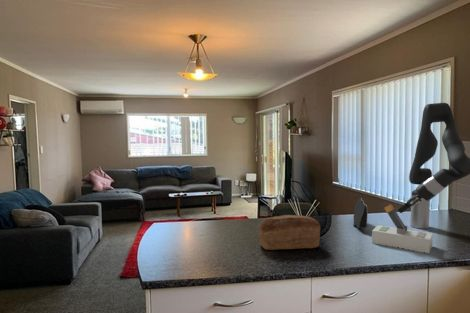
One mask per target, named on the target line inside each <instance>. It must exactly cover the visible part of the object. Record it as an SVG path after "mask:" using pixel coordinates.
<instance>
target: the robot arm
mask: <svg viewBox="0 0 470 313" xmlns="http://www.w3.org/2000/svg"><path fill="white" fill-rule="evenodd" d="M442 122H443V123H444V124H445V129H444V131H443V134H442V137H441V142H442V145H443V147H444V148H445V151H446V155H447V160H448V163H449V164H450V166H451V168H448V169H447V168H442V169H440V170H439V171H437V172H436V173H434V174H433V172H432V170H431V169H430V168H428V167H426V168H425V167H423V168H422V166H424V165H425V164H426V163H427V162H428V161H430V160H431V159H432V158H433V157H434V156H435V155H436V152H437V148H438V145H439V142H438V138H436V135H435V134H434V133H433V131H432V127H431V126H432V124H433V123H442ZM415 148H416V149H415V153H414V157H413V158H414V159H413V162H412V165H411V167H410V171H409V174H408V180H409V182H410V184H413V185H418V186H417V187H415V189H414V190H412V191H411V196H410V198H409V199H408V200H407V201H406V202H405V203H403V205H402V206H400V207H399V208H398V209H397V211H398V213H400V214H403V213H404V212H406V211H407V210H409V209H410V223H409V224H410V226H411V227H412V228H414V229H415V228H416V229H420V230H421V229H424V230H425V229H429V228H430V210H431V209H430V207H431V200H432V199H433V198H434V197H436V196H437V195H438V194H440V193H441V192H442V191H443V190H445V188H448V186H450V185H452V184H453V182H456V181H458V180H461V179H463V178H465V177H468V176H469V175H470V157H469V156H468V155H467V153H465V151H466V147H465V145H464V143H463V141H462V138H461V137H460V134H459V132H458V128H457V125H456V121H455V117H454V115H453V110H452V107H451V106H450V105H449V104H448V103H447V102H436V103H434V102H433V103H428V104H426V105H425V106H424V107H423V111H422V116H421V126H420V132H419V136H418V141H417V143H416V147H415Z"/></svg>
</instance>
